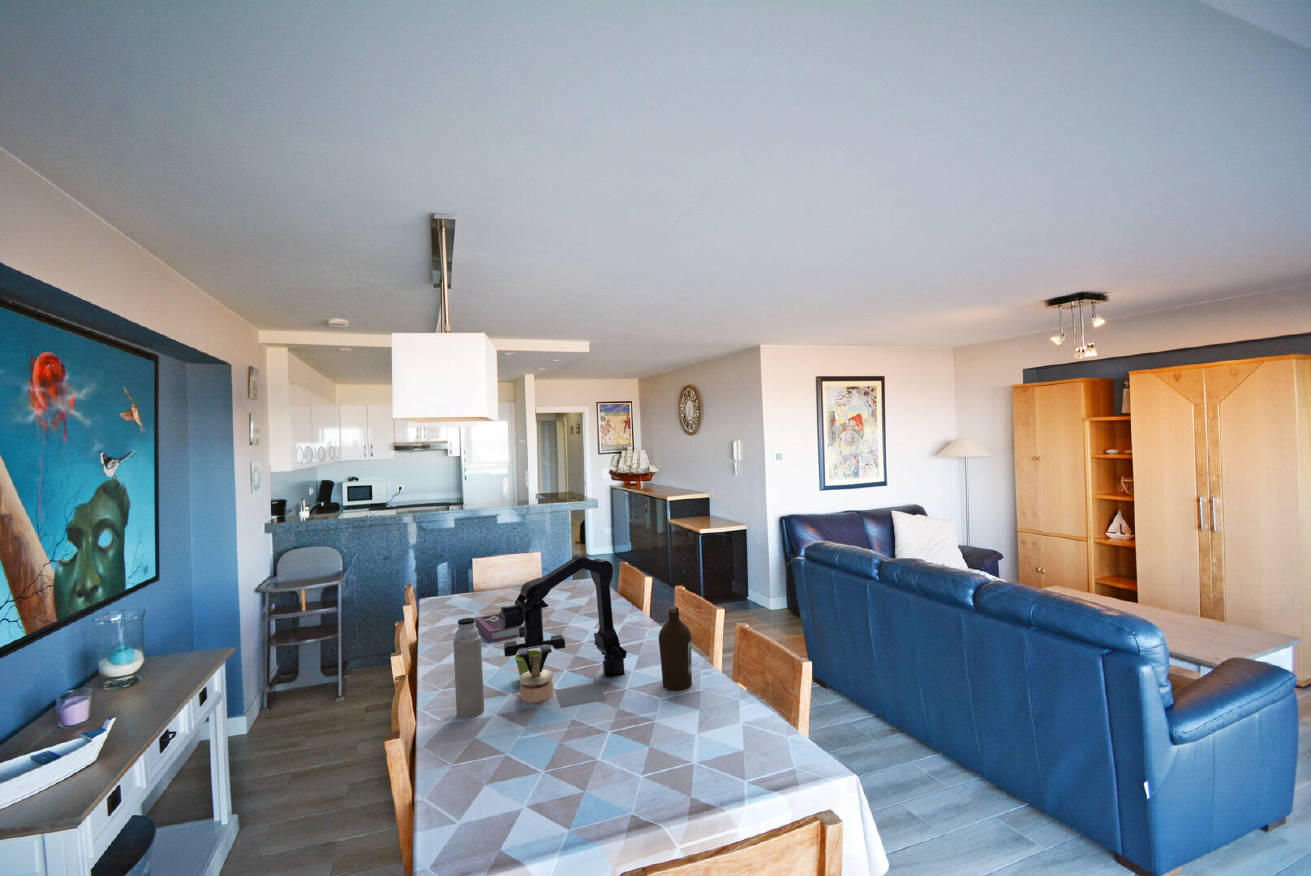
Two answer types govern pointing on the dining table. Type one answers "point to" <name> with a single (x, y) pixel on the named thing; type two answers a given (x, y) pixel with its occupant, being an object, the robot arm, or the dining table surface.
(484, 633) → the book
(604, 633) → the robot arm
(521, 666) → the plant pot
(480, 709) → the thermos bottle
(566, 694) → the mat
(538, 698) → the bowl
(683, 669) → the olive oil
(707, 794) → the dining table surface
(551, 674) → the lid
